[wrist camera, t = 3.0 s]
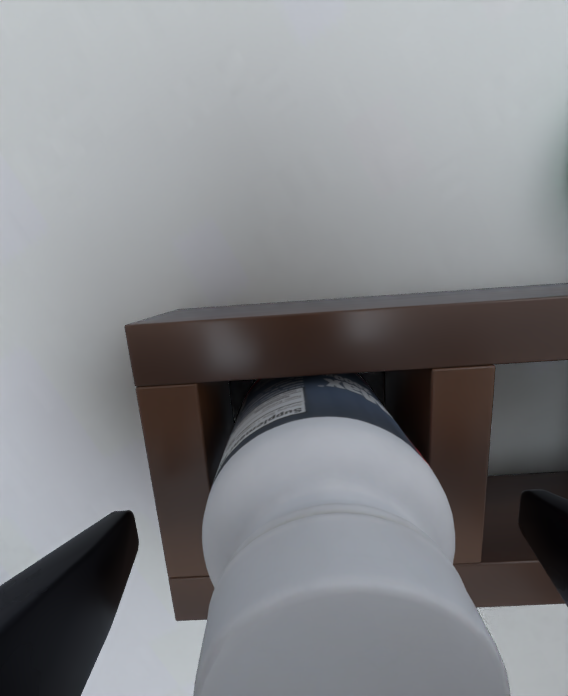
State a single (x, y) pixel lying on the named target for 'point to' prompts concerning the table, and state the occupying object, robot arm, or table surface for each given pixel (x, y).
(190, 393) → the holder
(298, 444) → the pill bottle
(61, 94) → the table surface
